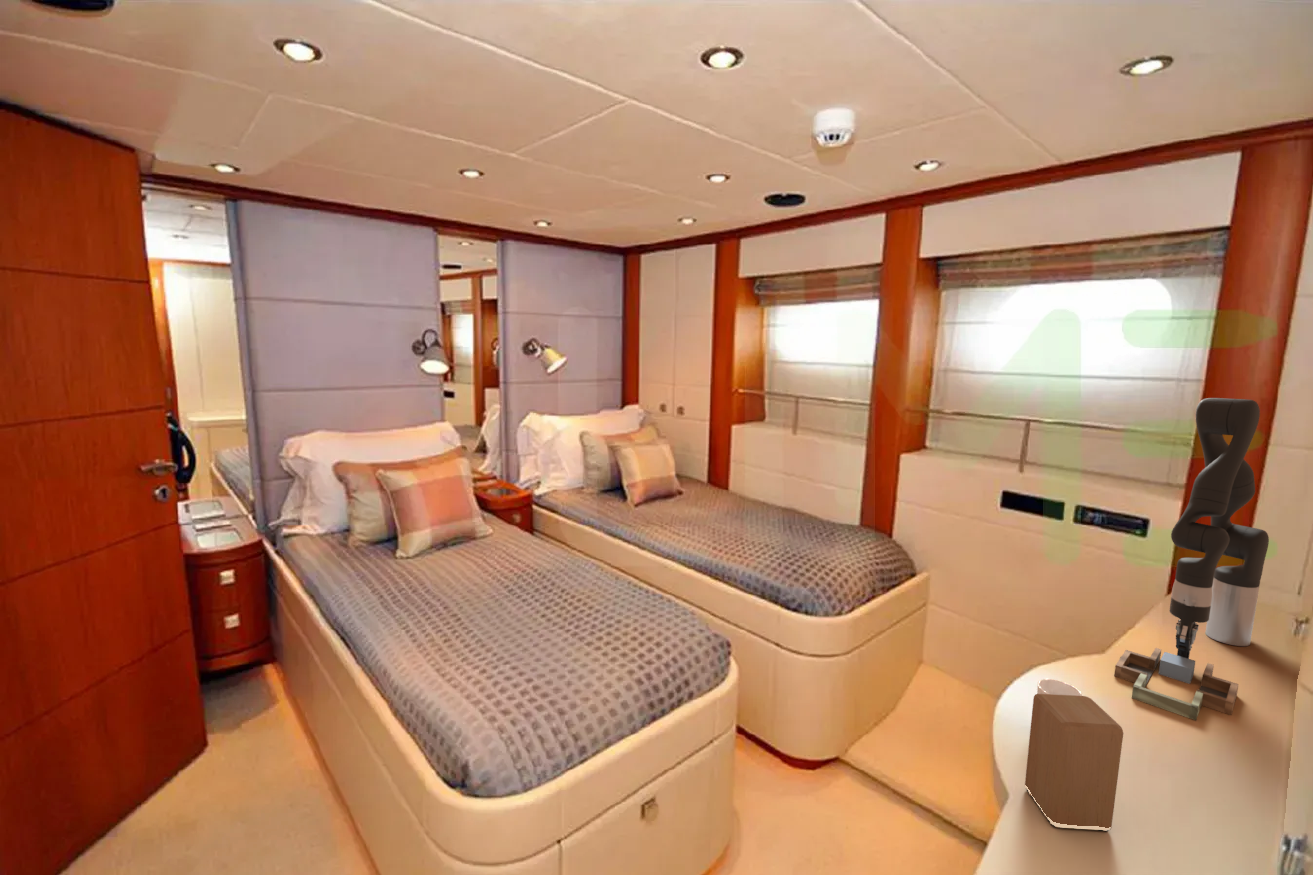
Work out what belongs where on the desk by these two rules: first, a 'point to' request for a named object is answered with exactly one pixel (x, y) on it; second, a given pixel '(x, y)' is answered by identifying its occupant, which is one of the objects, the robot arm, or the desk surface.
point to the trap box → (1210, 695)
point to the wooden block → (1073, 760)
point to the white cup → (1056, 688)
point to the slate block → (1177, 667)
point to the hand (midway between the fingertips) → (1182, 662)
